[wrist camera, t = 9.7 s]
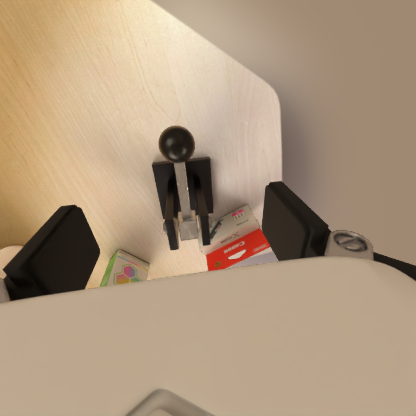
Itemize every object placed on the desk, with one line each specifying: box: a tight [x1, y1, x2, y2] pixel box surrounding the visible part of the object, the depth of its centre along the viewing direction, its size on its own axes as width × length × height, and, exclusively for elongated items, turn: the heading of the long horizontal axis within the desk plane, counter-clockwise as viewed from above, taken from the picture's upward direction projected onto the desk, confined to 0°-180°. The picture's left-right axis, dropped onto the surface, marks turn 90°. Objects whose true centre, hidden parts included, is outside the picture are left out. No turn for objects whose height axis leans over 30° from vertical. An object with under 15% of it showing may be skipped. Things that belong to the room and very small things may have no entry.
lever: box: [159, 126, 199, 241], centre depth 23 cm, size 13×4×4 cm, turn 4°
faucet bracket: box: [152, 157, 213, 250], centre depth 30 cm, size 10×9×13 cm
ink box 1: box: [100, 250, 149, 287], centre depth 36 cm, size 7×4×13 cm, turn 47°
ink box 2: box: [198, 205, 271, 271], centre depth 36 cm, size 2×11×10 cm, turn 119°
